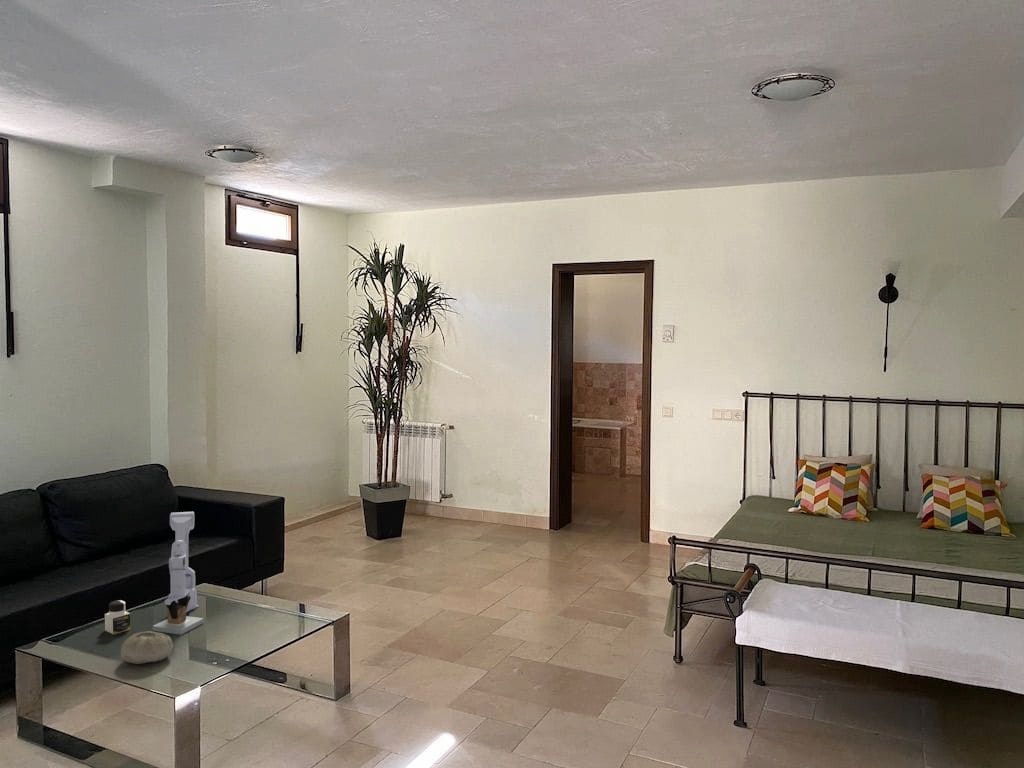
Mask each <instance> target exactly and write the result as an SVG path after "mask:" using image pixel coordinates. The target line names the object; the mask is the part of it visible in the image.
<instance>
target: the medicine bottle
mask: <svg viewBox="0 0 1024 768" xmlns="http://www.w3.org/2000/svg"><path fill="white" fill-rule="evenodd" d="M130 630H131V613H130V612H128V611H126V601H124V600H121V599H120V600H119V599H118V600H114V601H111V602H110V603H108V612H107V613H104V631H105V632H107V633H110V634H112V635H117V634H121V633H122V632H126V631H130Z"/></svg>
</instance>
